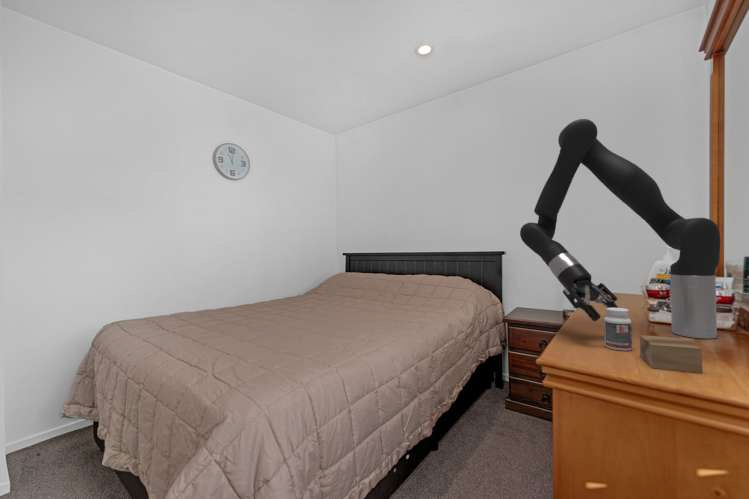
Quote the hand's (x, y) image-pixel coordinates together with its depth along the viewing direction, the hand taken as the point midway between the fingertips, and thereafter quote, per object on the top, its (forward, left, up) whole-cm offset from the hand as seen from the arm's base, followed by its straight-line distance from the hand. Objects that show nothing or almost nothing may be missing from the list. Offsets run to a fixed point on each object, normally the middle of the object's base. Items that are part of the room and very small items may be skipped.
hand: (609, 317), depth 85 cm
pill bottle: (+1, +1, -8) cm, 8 cm away
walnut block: (+11, +8, -7) cm, 16 cm away
